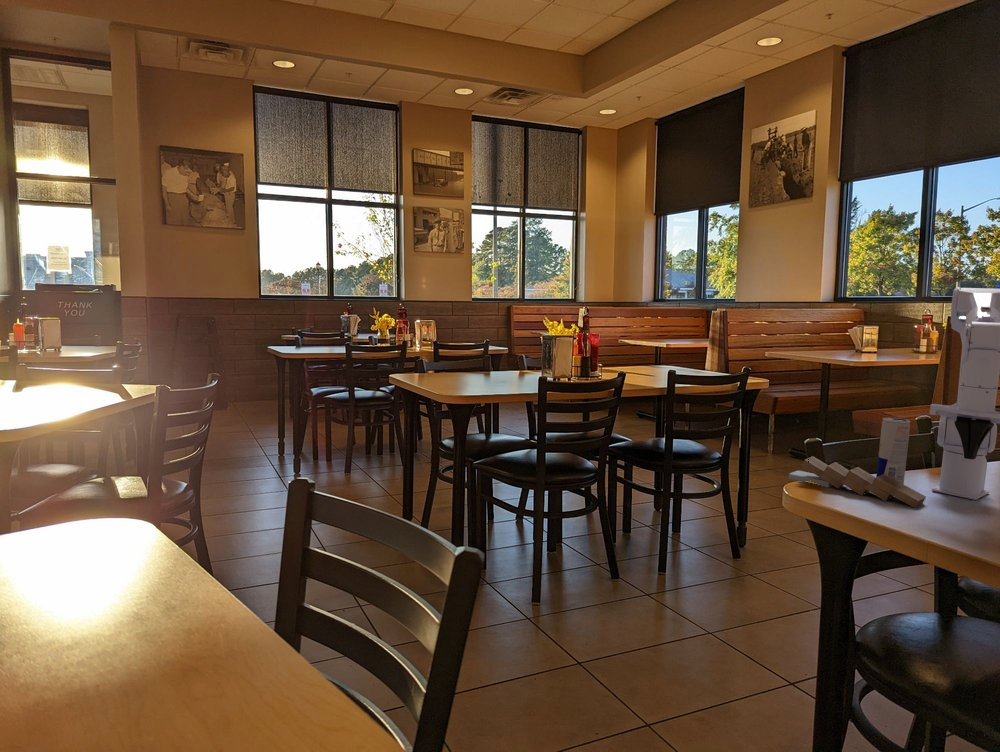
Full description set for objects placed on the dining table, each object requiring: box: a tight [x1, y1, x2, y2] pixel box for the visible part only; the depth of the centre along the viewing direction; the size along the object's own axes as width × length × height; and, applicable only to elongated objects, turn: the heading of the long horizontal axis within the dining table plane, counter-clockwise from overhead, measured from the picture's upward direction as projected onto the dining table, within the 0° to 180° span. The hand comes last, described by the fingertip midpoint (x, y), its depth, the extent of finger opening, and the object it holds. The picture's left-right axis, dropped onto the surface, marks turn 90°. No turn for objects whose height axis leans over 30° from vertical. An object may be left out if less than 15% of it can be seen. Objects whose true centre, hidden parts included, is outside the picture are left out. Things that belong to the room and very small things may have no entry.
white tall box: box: [875, 417, 911, 485], centre depth 144 cm, size 5×5×15 cm
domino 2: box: [800, 455, 845, 489], centre depth 147 cm, size 5×2×8 cm
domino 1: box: [788, 470, 833, 488], centre depth 149 cm, size 5×2×8 cm
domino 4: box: [846, 466, 894, 502], centre depth 140 cm, size 5×2×8 cm
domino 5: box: [872, 474, 927, 509], centre depth 136 cm, size 5×2×8 cm
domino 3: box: [824, 461, 870, 496], centre depth 143 cm, size 5×2×8 cm
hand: (969, 458), depth 130 cm, fingers closed
